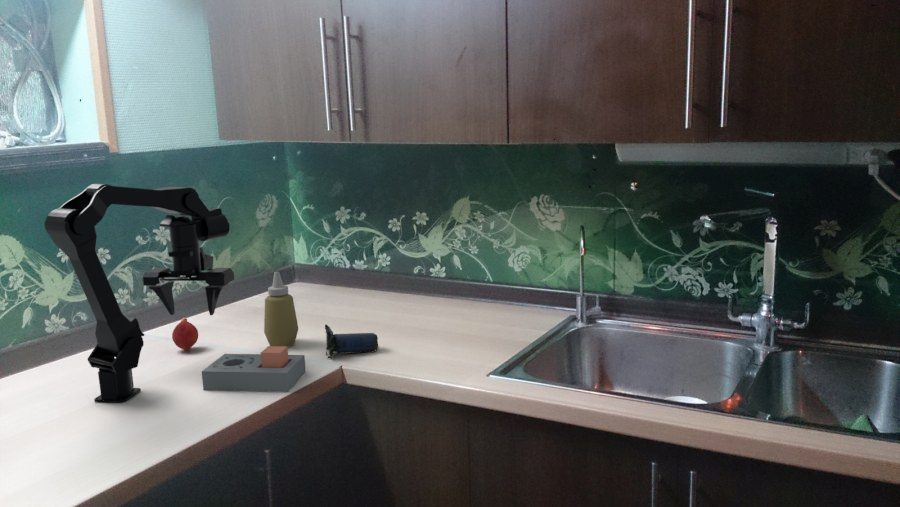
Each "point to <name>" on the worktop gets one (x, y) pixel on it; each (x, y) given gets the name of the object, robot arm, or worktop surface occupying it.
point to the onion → (185, 335)
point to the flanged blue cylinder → (350, 342)
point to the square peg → (274, 357)
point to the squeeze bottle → (280, 315)
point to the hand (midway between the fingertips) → (192, 314)
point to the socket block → (252, 374)
